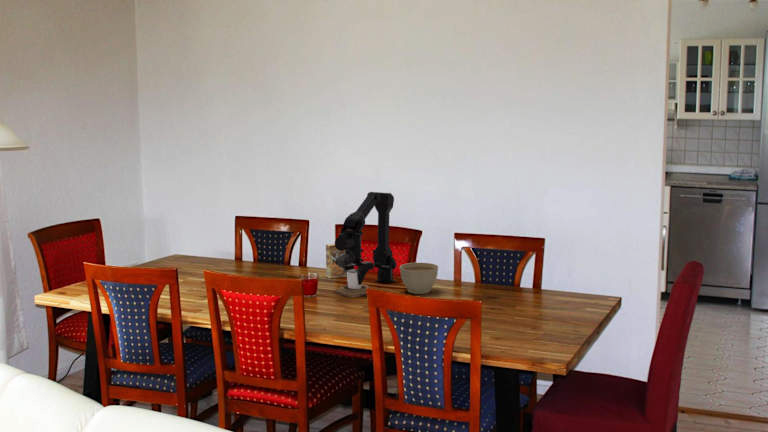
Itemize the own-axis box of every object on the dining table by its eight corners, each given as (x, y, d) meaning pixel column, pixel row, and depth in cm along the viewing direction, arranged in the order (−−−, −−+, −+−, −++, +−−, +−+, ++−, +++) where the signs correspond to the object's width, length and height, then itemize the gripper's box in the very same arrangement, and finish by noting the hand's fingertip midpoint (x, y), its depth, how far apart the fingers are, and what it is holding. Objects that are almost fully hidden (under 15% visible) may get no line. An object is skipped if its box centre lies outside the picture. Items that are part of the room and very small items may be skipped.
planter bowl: (393, 289, 347) (392, 264, 346) (425, 285, 354) (425, 261, 353) (411, 298, 333) (411, 271, 331) (445, 293, 340) (445, 267, 339)
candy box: (329, 279, 369) (329, 245, 366) (325, 277, 372) (325, 244, 370) (347, 276, 373) (347, 243, 371) (343, 275, 376) (343, 242, 374)
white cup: (363, 285, 345) (363, 269, 344) (361, 289, 338) (361, 272, 337) (347, 285, 345) (347, 268, 344) (345, 289, 339) (345, 272, 338)
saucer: (356, 288, 350) (356, 282, 350) (374, 293, 342) (374, 287, 341) (334, 292, 342) (334, 287, 342) (353, 297, 334) (353, 292, 333)
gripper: (325, 246, 341) (325, 283, 343) (354, 252, 327) (354, 290, 329) (345, 243, 348) (346, 278, 350) (374, 248, 335) (375, 286, 337)
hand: (354, 283), depth 342 cm, fingers closed on white cup, 6 cm apart
